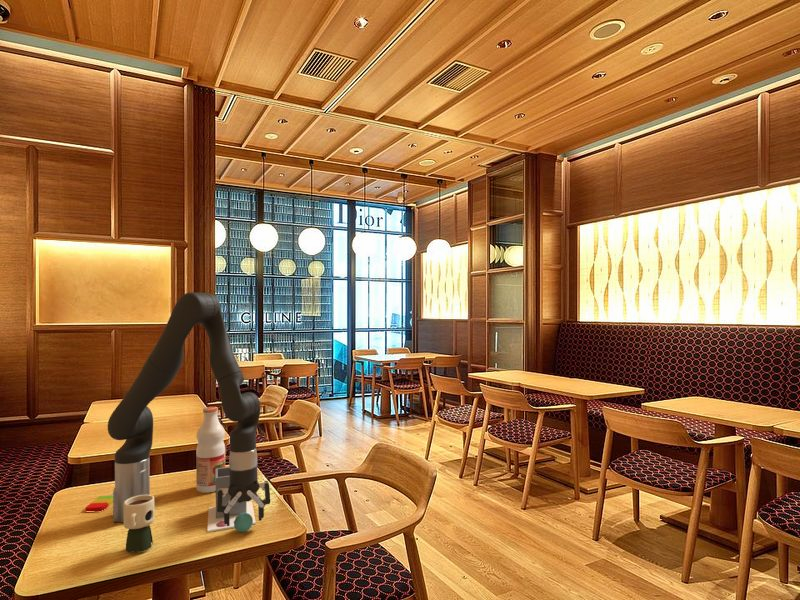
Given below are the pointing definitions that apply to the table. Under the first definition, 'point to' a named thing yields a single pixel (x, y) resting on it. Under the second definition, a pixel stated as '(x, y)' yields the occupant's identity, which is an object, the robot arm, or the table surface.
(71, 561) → the table surface
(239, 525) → the teal ball
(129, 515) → the character mug
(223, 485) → the tube card
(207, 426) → the strawberry milk bottle
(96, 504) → the popsicle
